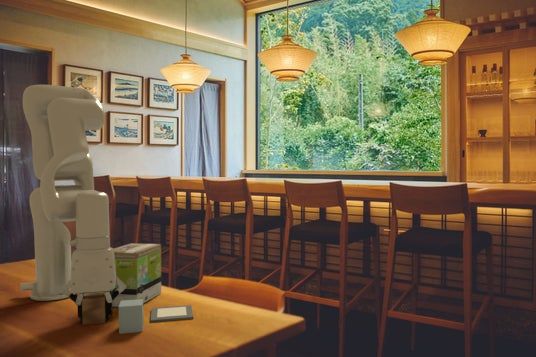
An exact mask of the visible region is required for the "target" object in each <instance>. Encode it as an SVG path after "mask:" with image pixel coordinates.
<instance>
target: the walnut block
mask: <svg viewBox="0 0 536 357" xmlns="http://www.w3.org/2000/svg"><path fill="white" fill-rule="evenodd" d="M105 303H106V297H105V294H104V292H100V293H85V295H84V297H83V298H82V318H83V322H82V326H84V325H85V326H86V325H94V324H105V323H106V322H107V320H106V316H105Z"/></svg>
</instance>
